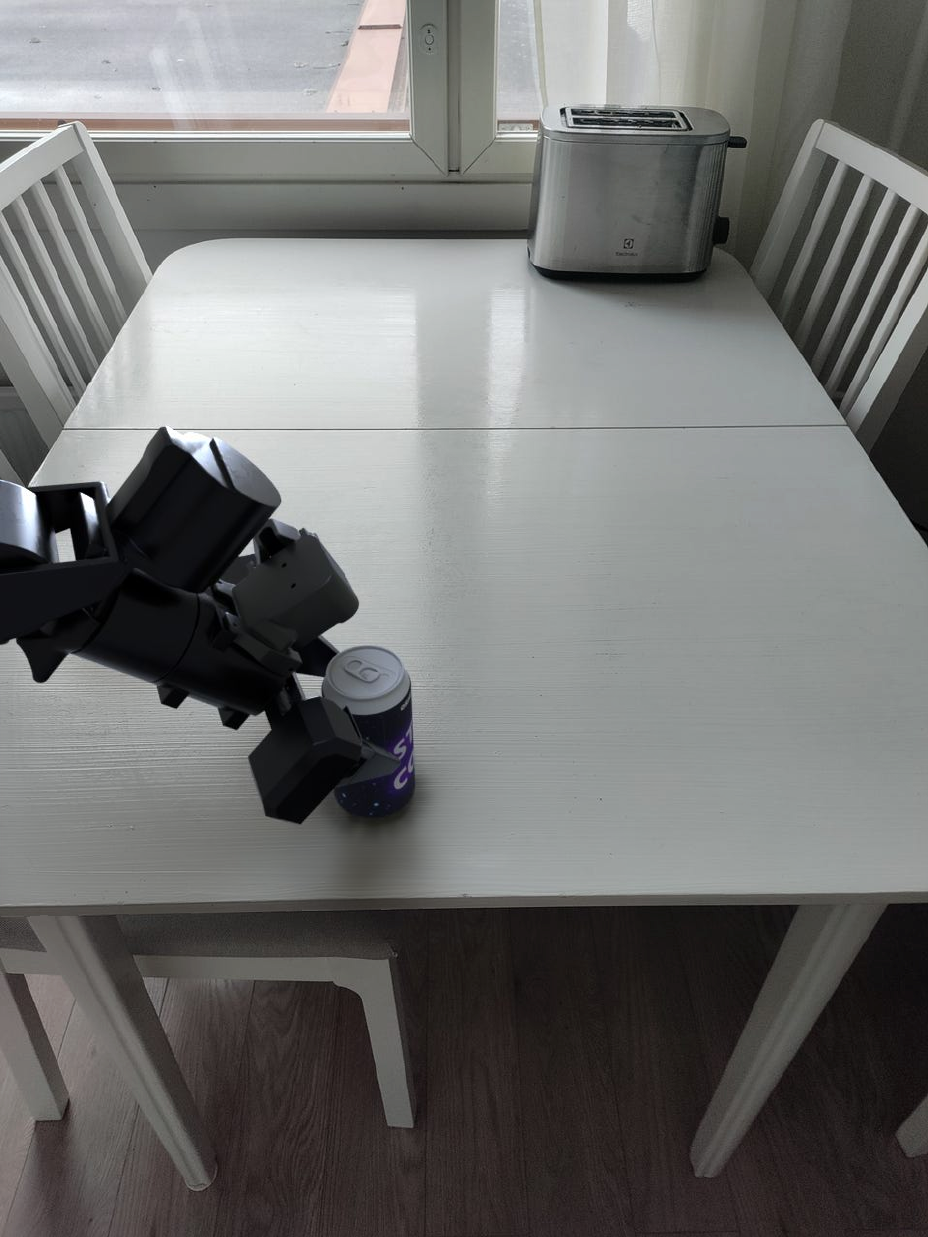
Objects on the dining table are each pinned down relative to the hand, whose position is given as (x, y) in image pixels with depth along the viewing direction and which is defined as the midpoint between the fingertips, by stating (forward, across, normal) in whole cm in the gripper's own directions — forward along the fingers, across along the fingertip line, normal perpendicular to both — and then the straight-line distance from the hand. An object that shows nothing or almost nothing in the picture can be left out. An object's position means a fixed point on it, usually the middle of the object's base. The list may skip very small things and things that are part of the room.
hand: (372, 717), depth 63 cm
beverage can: (+5, 0, +6) cm, 8 cm away
